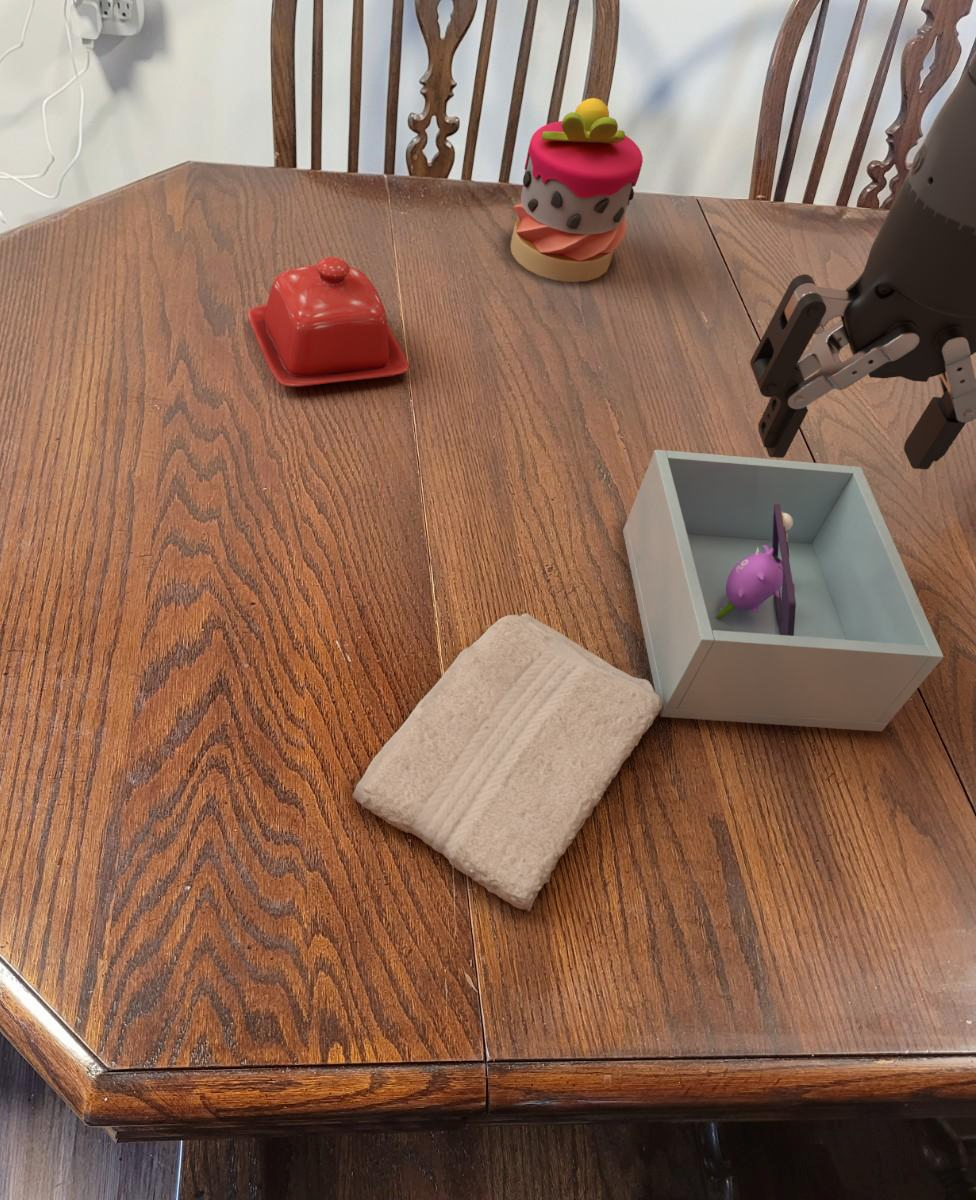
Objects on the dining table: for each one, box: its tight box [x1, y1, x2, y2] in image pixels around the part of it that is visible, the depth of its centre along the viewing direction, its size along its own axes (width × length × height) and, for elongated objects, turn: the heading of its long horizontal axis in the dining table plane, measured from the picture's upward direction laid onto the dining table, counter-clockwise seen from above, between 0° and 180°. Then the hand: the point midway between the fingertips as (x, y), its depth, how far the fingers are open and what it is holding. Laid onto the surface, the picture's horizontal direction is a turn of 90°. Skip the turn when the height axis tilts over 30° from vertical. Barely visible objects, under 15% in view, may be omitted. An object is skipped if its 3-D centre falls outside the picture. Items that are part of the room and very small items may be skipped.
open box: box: [622, 449, 944, 732], centre depth 69 cm, size 15×17×8 cm
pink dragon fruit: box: [716, 504, 796, 636], centre depth 69 cm, size 7×5×9 cm
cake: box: [510, 97, 644, 283], centre depth 96 cm, size 10×11×15 cm
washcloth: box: [352, 612, 663, 912], centre depth 62 cm, size 12×18×3 cm, turn 145°
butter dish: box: [247, 256, 410, 388], centre depth 85 cm, size 12×12×8 cm
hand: (843, 454), depth 60 cm, fingers open, 8 cm apart
